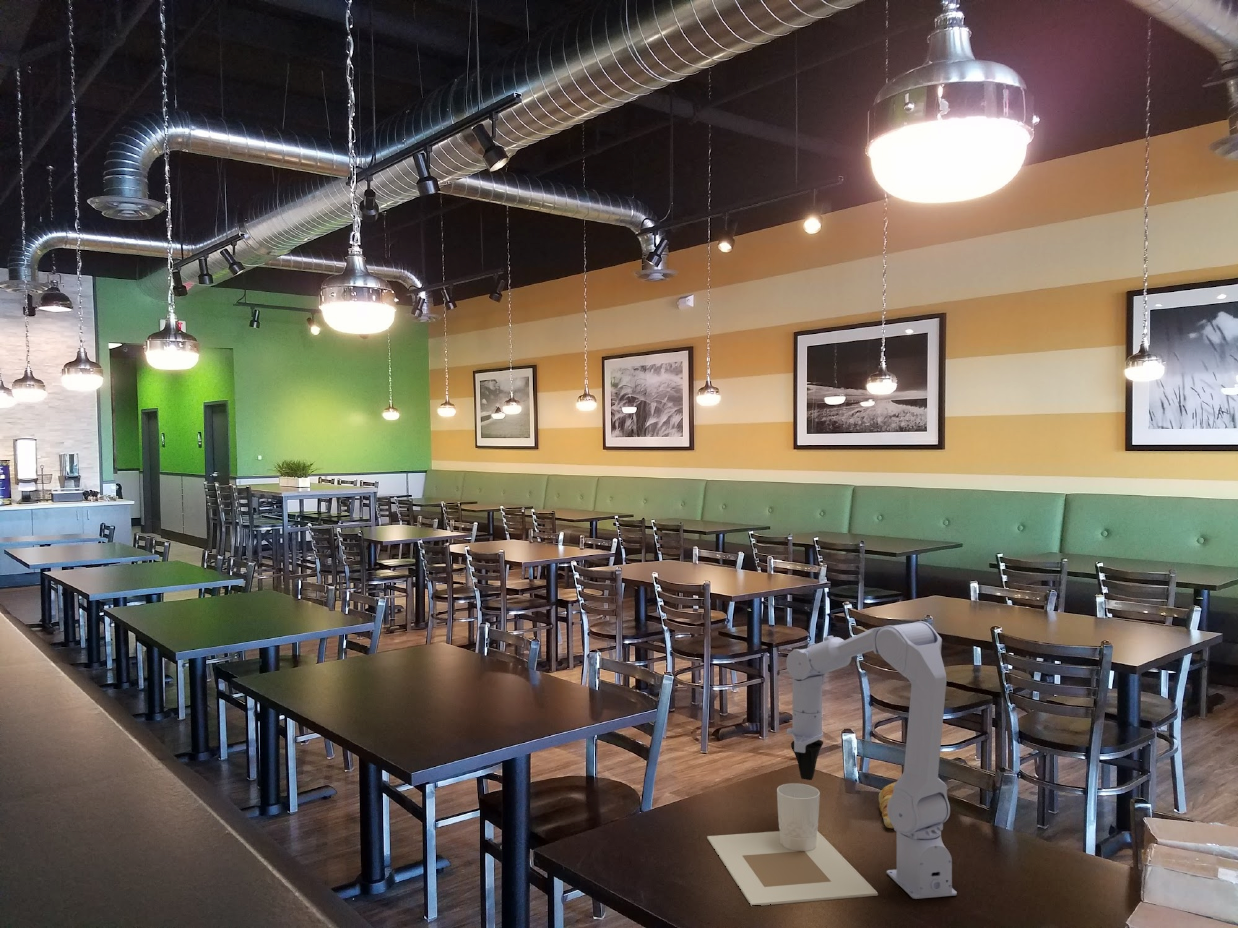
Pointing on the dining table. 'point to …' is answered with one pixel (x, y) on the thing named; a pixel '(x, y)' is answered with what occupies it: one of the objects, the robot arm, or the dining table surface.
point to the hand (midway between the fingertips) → (807, 778)
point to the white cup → (798, 816)
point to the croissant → (883, 800)
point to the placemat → (787, 870)
